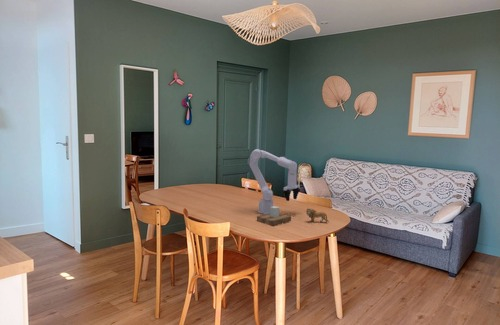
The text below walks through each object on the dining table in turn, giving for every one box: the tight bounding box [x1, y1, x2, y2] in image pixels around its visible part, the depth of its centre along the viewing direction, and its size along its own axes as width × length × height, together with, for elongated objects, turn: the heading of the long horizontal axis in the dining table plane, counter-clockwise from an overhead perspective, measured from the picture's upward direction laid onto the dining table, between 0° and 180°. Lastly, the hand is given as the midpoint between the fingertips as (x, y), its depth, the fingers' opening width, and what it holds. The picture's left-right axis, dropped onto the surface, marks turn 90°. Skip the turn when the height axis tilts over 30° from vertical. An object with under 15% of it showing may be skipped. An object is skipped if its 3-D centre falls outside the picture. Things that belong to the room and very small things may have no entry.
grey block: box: [270, 205, 280, 218], centre depth 228 cm, size 4×4×6 cm
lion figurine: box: [305, 207, 330, 224], centre depth 229 cm, size 15×5×9 cm, turn 94°
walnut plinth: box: [256, 213, 292, 227], centre depth 228 cm, size 14×16×3 cm
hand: (291, 199), depth 245 cm, fingers open, 7 cm apart
